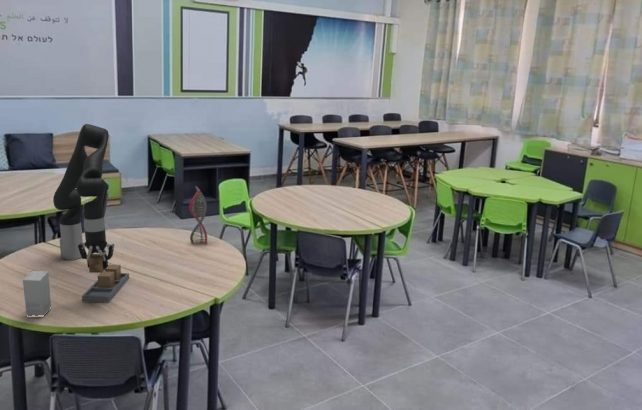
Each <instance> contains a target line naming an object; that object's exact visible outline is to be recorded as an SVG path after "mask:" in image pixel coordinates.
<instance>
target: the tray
mask: <svg viewBox="0 0 642 410" xmlns="http://www.w3.org/2000/svg"><path fill="white" fill-rule="evenodd" d="M121 268H122V267H121V264H111V263H110V264H109V263H108V267H107V268H106V269H105V270H104V271H103V272H102V273H99V274H98V275H97V280H96V281H95V282H94V283H93V284H92V285H91V286H90V287H89V288H88V289H87V290H86V291H85V292H84V293H83V294H82V296H81V299H82V300H81V301H91V302H90V303H110V302H111V301H112V299H114V298H115V296H116V295H117V294H118V293H119V291H120V290H121V289H122V287H123V286H125V284H126V283H127V282H128V280H130V274H129V273H130V272H129V273H127V272H122V269H121Z"/></svg>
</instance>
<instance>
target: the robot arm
mask: <svg viewBox="0 0 642 410" xmlns="http://www.w3.org/2000/svg"><path fill="white" fill-rule="evenodd" d="M108 141H109V131H108V130H107V129H106V128H103V127H100V126H97V125H94V124H91V123H90V124H89V123H85V124H83V125H82V126H81V129H80V131H79V134H78V137H77V141H76V144H75V148H74V151H73V153H72V155H71V157H70V159H69V161H68V164H67V166H66V170H65V172H64V175H63V177H62V179H61V181H60V184H58V187H57V189H55V192H54V195H53V201H52V202H53V205H54V208H55V209H57V210H58V211H66V210H67V212H65V213H64V214H62V215H61V216H60V217H59V219H58V220H59V229H60V230H59V231H60V238H59V250H60V258H61V259H63V260H67V261H70V260H71V261H72V260H73V261H74V260H78V259H82V260H84V259H85V260H86V263H87V264H86V265H87V268H88V269H89V261H88V258H89V257H91V255H93V254H100V256H101V257H102V259H103V269H106V268H107V267H108V265H109V260H111V259H112V258H113V255H114V251H115V250H114V249H115V244H114V243H108V241H107V235H106V234H107V233H106V222H105V217H104V199H105V196H106V195H105V194H106V191H107V182H106V181H105V180H104V179H103V178H102V177H103V164H104V158H105V156H106V151H107V149H108V148H107V147H108ZM85 147H87V148H88V147H89V148H92V149H96V150H95V151H94V152H92V153H90V154H89V155H88V154H87V152H86V148H85ZM83 197H84V198H90V197H91V198H92V197H94V198H95V197H96V198H95V200H91V201H88V202H85V203H84V204H83V206H82V198H83ZM82 208H83V213H82ZM82 214H83V217H84V219H83V220H84V221H83V228H84V238H85V239H84V240H85V242H84V240H83V230H82ZM106 248H107V249H106ZM86 249H87V250H88V251H87V250H86ZM107 250H108V252H107Z"/></svg>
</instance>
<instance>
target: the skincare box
mask: <svg viewBox="0 0 642 410" xmlns="http://www.w3.org/2000/svg"><path fill="white" fill-rule="evenodd" d="M49 278H50V277H49V271H45V270H44V271H43V270H42V271H40V270H38V271H37V270H34V271H33V270H32V271H30V272H29V273H28V274H27V275H26V277H24V278H23V279H22V285H23V293H24V295H23V296H24V303H25V313H26V314H25V315H26V316H27V315H28V316H32V315H35V316H38V315H44V314H45V313H46V312H47V311H48V310H49V309H50V307H51V308H52V301H51V290H50V289H51V288H50V279H49ZM50 310H51V309H50ZM50 310H49V311H50ZM49 311H48V312H49Z"/></svg>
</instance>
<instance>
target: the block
mask: <svg viewBox="0 0 642 410" xmlns="http://www.w3.org/2000/svg"><path fill="white" fill-rule="evenodd" d="M88 261H89V268H88V269H89V273H95V274H98V273H99V274H100V273H102V272H103V271H105V269H103V259H102V257H101V256H100V254H99V253H93V255H91V257H89V258H88Z"/></svg>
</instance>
